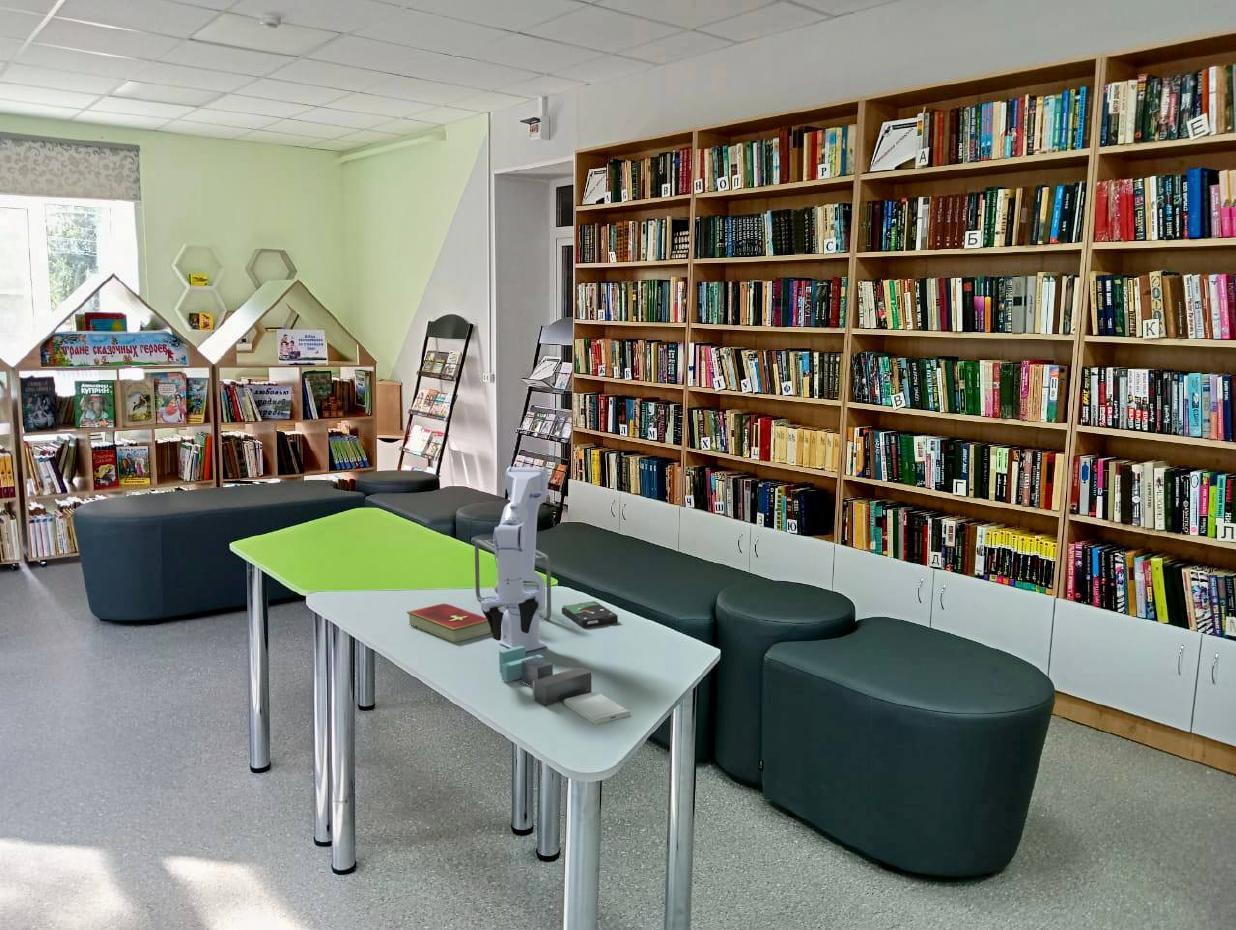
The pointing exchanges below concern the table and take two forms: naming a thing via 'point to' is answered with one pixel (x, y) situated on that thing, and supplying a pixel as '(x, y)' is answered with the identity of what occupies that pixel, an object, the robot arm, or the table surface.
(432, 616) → the hardcover book
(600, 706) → the hard drive
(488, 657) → the table surface
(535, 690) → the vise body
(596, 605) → the disk drive
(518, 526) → the robot arm
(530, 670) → the steel block
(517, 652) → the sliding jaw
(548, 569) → the newton's cradle
